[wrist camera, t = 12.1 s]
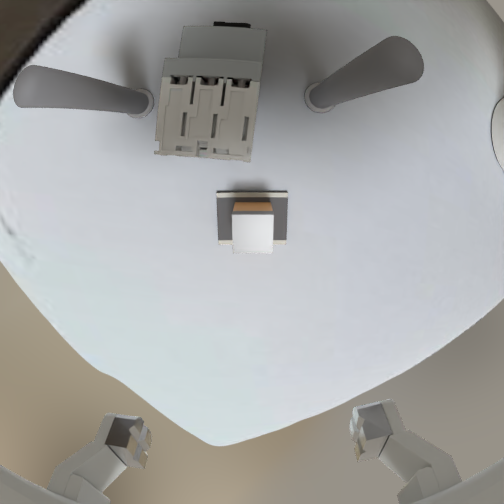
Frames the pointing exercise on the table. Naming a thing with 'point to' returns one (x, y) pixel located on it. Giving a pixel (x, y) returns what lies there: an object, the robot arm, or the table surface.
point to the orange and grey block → (252, 227)
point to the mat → (229, 198)
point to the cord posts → (141, 101)
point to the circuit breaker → (211, 93)
